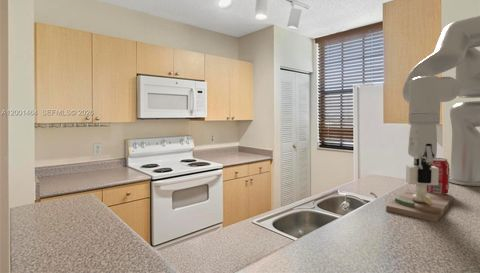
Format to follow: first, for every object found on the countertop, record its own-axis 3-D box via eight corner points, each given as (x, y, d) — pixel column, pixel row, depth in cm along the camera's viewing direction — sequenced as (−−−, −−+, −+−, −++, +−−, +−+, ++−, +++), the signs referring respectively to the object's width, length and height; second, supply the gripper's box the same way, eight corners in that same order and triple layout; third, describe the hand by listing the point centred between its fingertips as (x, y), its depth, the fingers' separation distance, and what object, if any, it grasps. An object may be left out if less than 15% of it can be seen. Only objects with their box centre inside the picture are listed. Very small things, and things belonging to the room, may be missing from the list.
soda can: (439, 190, 95) (441, 157, 94) (453, 196, 88) (455, 160, 87) (419, 190, 96) (420, 157, 95) (431, 196, 89) (432, 160, 88)
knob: (405, 197, 83) (405, 164, 82) (432, 198, 81) (433, 165, 80) (414, 206, 74) (415, 170, 74) (444, 208, 72) (446, 171, 71)
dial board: (408, 194, 92) (408, 186, 92) (452, 201, 83) (453, 193, 83) (386, 210, 77) (386, 202, 77) (436, 222, 68) (437, 212, 68)
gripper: (402, 119, 87) (400, 174, 88) (417, 120, 71) (415, 187, 73) (429, 118, 84) (427, 175, 86) (451, 120, 69) (448, 189, 70)
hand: (421, 180), depth 79 cm, fingers closed on knob, 3 cm apart
